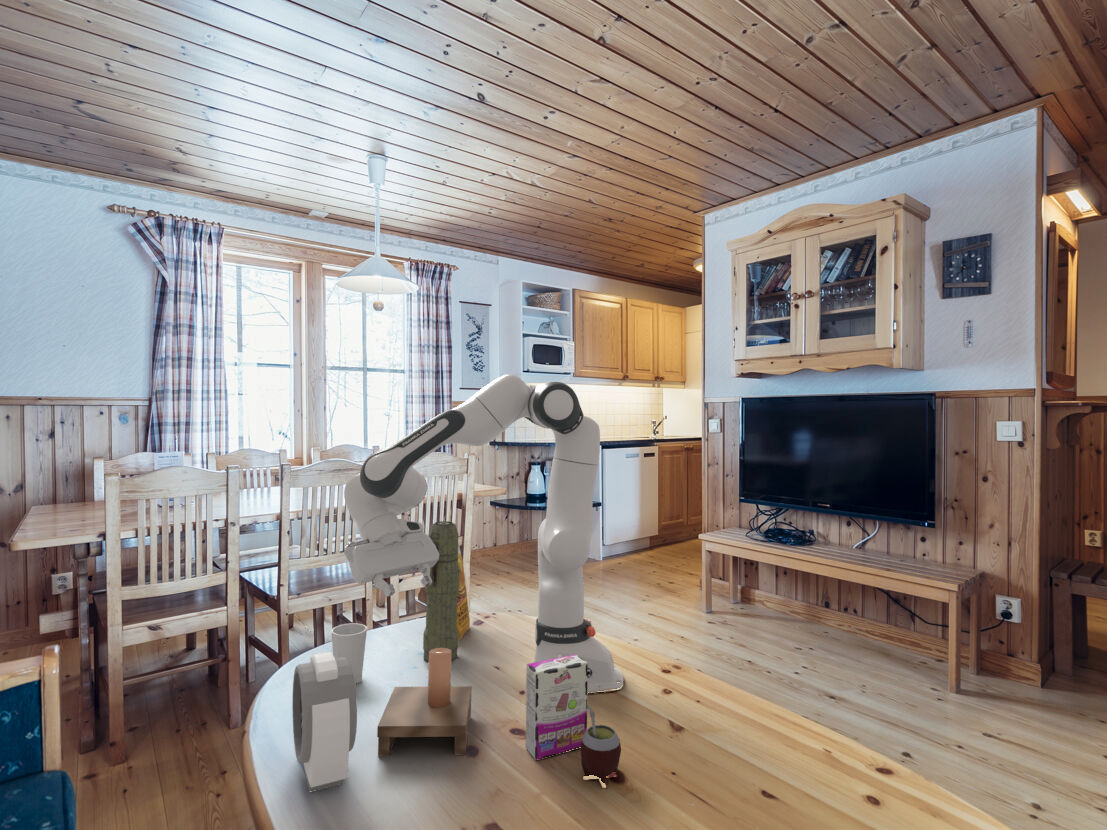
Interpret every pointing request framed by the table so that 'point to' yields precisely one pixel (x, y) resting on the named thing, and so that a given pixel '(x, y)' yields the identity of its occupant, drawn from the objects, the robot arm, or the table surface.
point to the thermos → (443, 592)
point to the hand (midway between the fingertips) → (410, 589)
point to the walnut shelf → (425, 717)
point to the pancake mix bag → (462, 601)
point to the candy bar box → (556, 705)
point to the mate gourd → (599, 750)
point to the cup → (350, 646)
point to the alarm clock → (324, 718)
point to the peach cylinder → (439, 677)
